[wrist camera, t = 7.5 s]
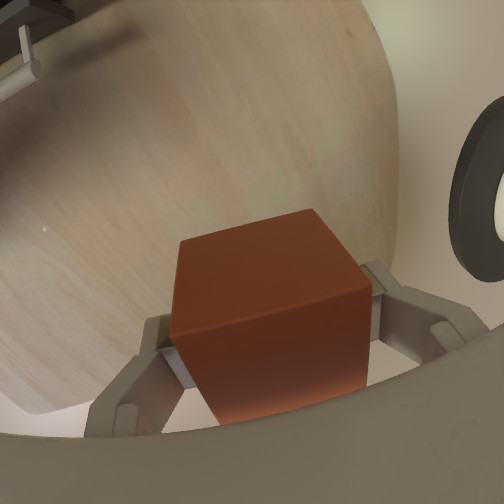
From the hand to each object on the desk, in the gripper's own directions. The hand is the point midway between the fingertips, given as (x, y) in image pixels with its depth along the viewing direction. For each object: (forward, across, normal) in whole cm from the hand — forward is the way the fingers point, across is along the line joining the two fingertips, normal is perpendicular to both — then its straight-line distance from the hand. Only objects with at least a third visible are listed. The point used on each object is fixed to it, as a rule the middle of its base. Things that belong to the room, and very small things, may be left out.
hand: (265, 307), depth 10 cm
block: (+2, 0, 0) cm, 2 cm away
